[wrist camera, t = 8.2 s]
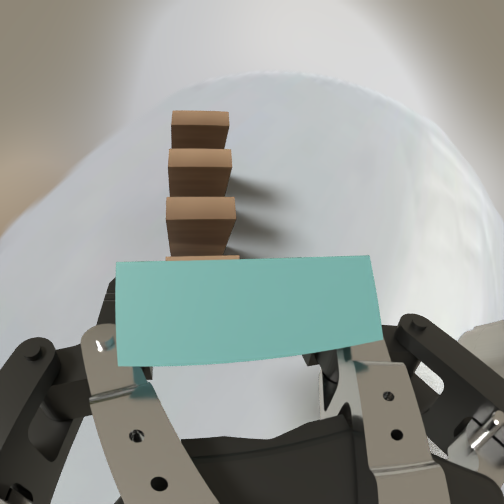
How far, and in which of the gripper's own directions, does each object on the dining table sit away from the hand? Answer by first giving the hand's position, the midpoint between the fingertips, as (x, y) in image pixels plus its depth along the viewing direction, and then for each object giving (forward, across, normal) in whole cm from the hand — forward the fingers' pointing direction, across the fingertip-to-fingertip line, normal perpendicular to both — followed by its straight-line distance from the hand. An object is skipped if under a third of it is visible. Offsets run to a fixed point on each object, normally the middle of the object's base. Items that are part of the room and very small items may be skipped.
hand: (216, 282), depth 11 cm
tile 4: (+21, 0, +4) cm, 22 cm away
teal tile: (+2, 0, +4) cm, 5 cm away
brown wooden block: (+25, 0, +1) cm, 25 cm away
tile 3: (+18, 0, +8) cm, 20 cm away
